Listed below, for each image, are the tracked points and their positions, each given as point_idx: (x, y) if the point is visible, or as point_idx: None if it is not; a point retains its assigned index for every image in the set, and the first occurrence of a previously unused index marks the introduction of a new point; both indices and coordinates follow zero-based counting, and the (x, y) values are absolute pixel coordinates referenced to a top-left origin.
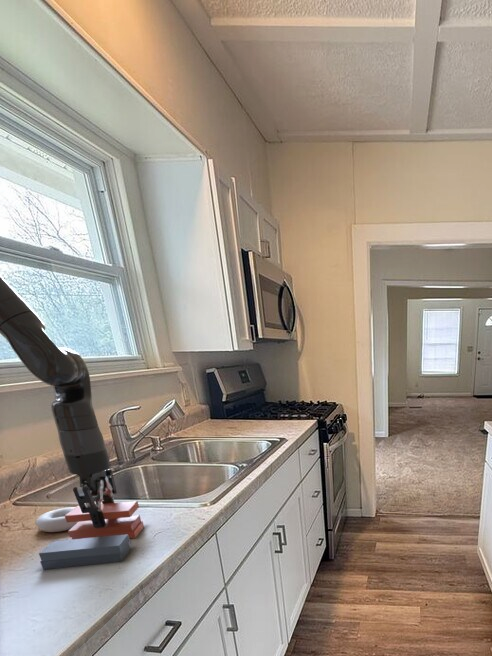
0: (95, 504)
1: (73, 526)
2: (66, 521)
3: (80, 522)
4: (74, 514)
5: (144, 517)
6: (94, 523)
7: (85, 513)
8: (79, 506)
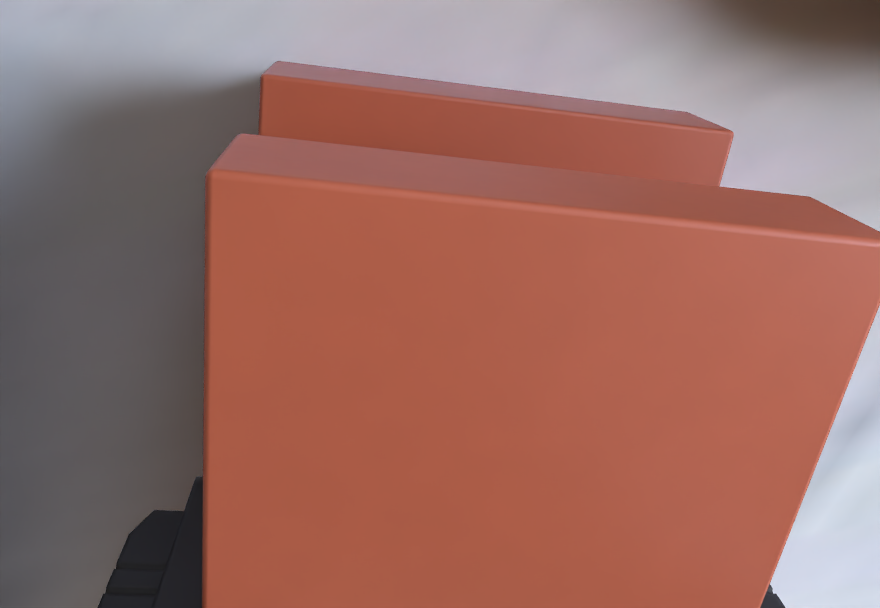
0: (754, 566)
1: (453, 107)
2: (237, 138)
3: (604, 167)
4: (240, 370)
5: (794, 595)
6: (127, 562)
7: (242, 553)
8: (799, 308)
